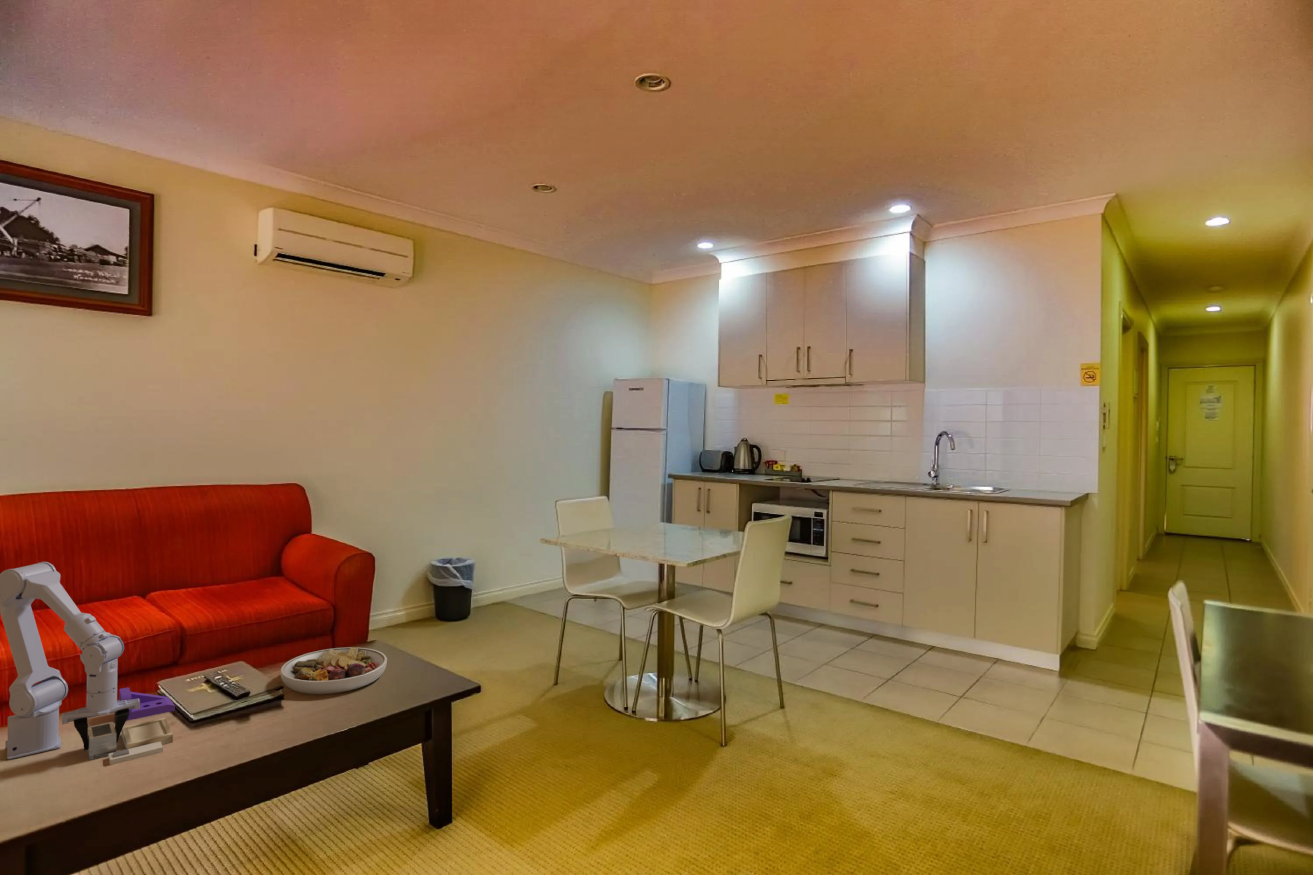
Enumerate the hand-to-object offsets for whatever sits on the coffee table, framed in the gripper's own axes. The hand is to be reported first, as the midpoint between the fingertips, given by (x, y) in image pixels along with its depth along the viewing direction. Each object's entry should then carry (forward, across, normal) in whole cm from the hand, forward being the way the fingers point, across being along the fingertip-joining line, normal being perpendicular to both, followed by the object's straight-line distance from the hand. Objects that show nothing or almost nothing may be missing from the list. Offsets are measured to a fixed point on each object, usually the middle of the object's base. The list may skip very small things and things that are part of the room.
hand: (101, 744), depth 166 cm
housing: (+1, 0, 0) cm, 1 cm away
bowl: (+2, +58, +14) cm, 60 cm away
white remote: (+2, +6, -8) cm, 10 cm away
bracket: (+2, +11, +19) cm, 22 cm away
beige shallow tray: (+1, +9, +1) cm, 9 cm away
